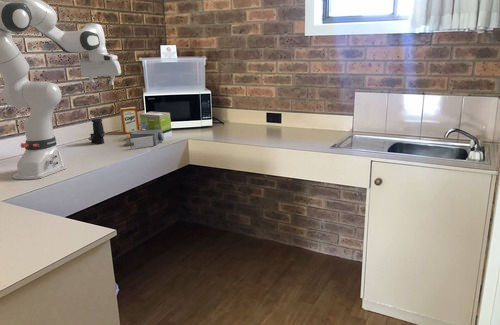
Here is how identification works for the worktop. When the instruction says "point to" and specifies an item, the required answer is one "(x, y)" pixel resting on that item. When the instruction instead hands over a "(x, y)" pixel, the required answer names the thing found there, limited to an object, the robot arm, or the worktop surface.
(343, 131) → the worktop surface
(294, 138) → the worktop surface
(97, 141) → the scope
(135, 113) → the baking soda box
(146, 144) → the side door
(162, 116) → the tea box
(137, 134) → the box
